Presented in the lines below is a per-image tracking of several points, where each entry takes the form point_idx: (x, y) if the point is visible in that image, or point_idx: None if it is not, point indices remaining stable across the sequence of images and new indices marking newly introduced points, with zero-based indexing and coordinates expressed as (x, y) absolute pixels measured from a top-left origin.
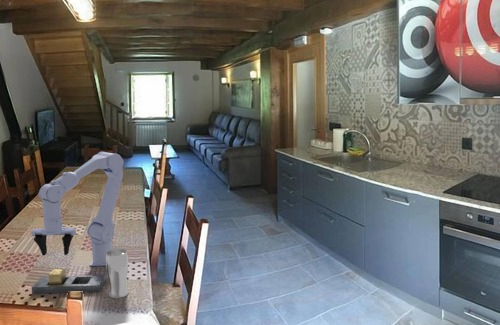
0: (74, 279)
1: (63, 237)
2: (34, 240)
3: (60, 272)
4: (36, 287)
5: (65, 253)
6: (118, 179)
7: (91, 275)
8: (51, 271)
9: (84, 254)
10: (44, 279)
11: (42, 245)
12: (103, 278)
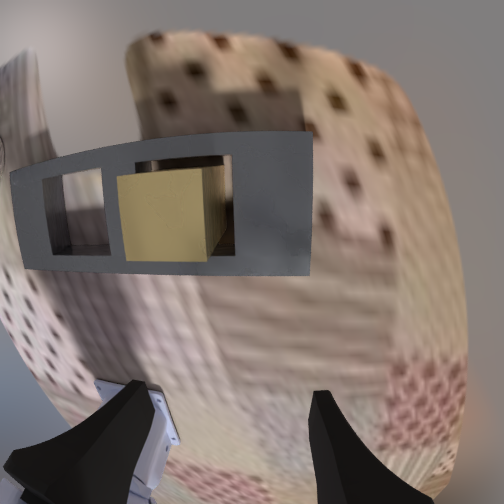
0: (107, 228)
1: (40, 494)
2: (428, 500)
3: (130, 205)
4: (282, 132)
5: (128, 386)
6: None
7: (61, 267)
8: (203, 224)
9: (232, 458)
10: (277, 234)
11: (333, 468)
12: (19, 238)
